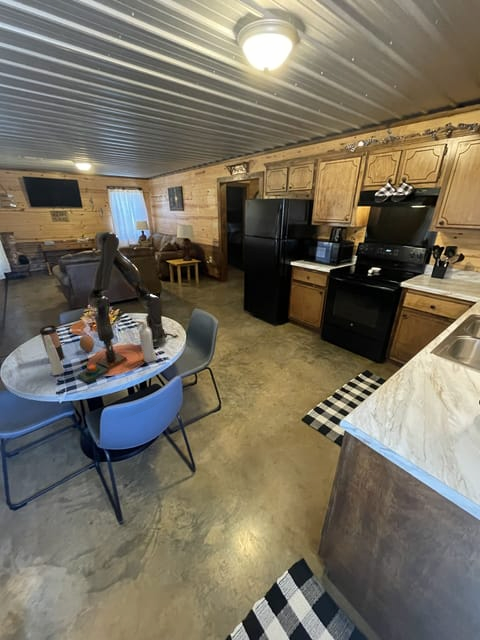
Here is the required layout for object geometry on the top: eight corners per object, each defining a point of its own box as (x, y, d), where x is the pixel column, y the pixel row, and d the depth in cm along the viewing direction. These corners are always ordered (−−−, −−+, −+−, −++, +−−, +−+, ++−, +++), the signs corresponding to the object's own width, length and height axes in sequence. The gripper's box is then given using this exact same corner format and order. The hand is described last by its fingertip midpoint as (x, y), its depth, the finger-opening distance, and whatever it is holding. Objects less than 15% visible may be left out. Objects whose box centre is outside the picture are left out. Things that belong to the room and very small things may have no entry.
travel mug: (67, 357, 156) (58, 326, 148) (55, 363, 149) (45, 331, 142) (58, 354, 158) (49, 324, 151) (46, 361, 152) (35, 330, 144)
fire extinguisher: (153, 365, 148) (147, 324, 138) (138, 359, 153) (131, 320, 143) (162, 359, 153) (156, 320, 143) (147, 354, 159) (141, 316, 149)
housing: (98, 367, 145) (96, 361, 144) (108, 372, 141) (106, 366, 140) (78, 377, 137) (76, 371, 135) (88, 383, 132) (87, 376, 131)
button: (93, 366, 140) (92, 363, 139) (97, 368, 138) (96, 365, 137) (86, 370, 137) (86, 367, 136) (91, 372, 135) (90, 369, 135)
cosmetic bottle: (53, 370, 143) (41, 334, 134) (65, 368, 145) (54, 332, 136) (50, 376, 138) (38, 339, 129) (64, 373, 140) (52, 337, 131)
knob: (105, 358, 149) (103, 350, 147) (115, 356, 152) (113, 348, 150) (107, 362, 146) (105, 354, 144) (117, 359, 148) (115, 351, 146)
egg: (79, 352, 161) (74, 336, 157) (90, 347, 167) (86, 331, 163) (87, 355, 158) (83, 339, 154) (98, 349, 164) (94, 334, 160)
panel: (115, 356, 157) (115, 352, 156) (127, 360, 152) (126, 356, 151) (97, 365, 147) (96, 361, 146) (108, 370, 143) (107, 366, 142)
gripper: (115, 333, 138) (120, 361, 145) (110, 324, 149) (115, 350, 156) (99, 337, 134) (106, 365, 141) (95, 328, 145) (101, 354, 152)
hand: (111, 357), depth 148 cm, fingers closed on knob, 5 cm apart
